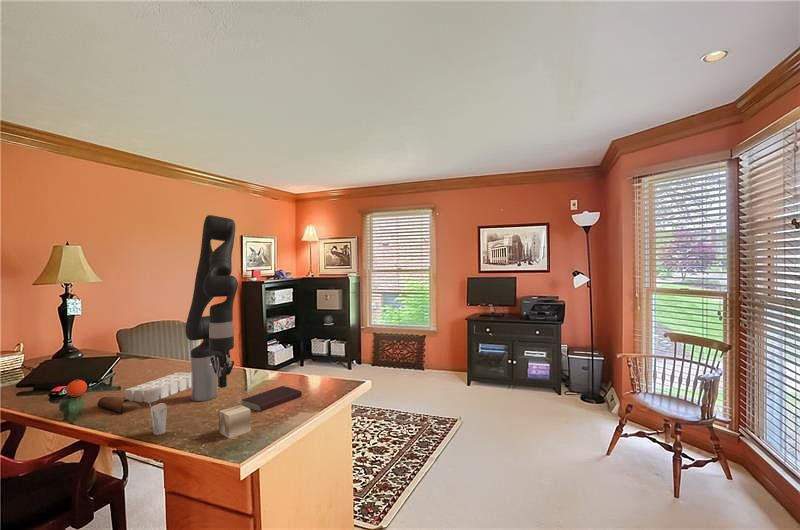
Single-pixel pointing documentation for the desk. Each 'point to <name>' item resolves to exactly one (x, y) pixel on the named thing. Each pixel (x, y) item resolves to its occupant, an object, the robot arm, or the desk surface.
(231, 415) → the maple block
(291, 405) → the desk surface
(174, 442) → the desk surface
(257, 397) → the book
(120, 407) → the sunglasses case
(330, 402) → the desk surface
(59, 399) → the desk surface
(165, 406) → the milkshake
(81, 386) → the clementine
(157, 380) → the organizer
